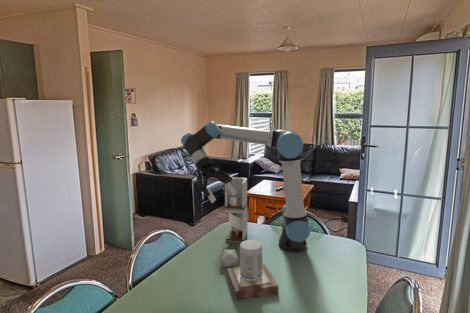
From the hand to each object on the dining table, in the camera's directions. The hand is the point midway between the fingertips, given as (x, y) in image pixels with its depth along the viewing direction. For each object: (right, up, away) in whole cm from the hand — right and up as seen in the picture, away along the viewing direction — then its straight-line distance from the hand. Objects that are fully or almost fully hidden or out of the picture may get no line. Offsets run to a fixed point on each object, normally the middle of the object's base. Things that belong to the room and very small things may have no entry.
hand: (224, 198), depth 141 cm
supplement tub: (+12, -33, -6) cm, 36 cm away
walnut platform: (+12, -37, -5) cm, 39 cm away
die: (+2, -35, +11) cm, 36 cm away
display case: (+6, -29, +41) cm, 50 cm away
